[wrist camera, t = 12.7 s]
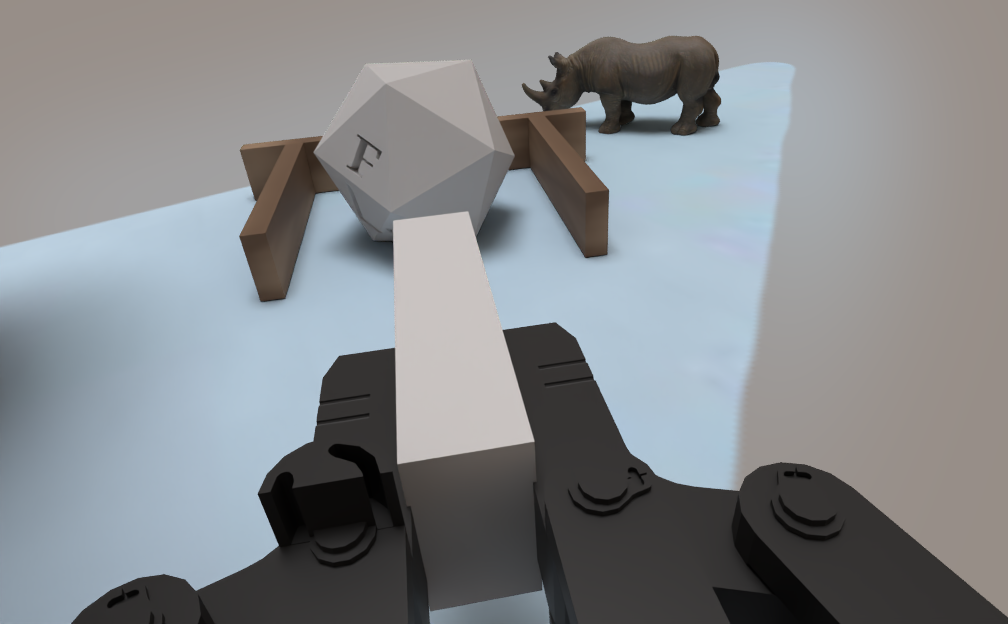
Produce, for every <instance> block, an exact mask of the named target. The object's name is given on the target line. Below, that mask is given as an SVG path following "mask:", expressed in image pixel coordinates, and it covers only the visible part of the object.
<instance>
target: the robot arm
mask: <svg viewBox="0 0 1008 624" xmlns="http://www.w3.org/2000/svg"><path fill="white" fill-rule="evenodd" d="M393 246H394V305H395V348H391V349H384V350H377V351H370V352H363V353H356V354H349V355H342V356H339V357H338V358H337V359H336V361H335V362H334V363H333V365H332V366H331V368H330V369H329V370H328V372H327V373H326V374H325V376H324V377H323V380H322V387H321V394H320V401H319V402H320V406H319V407H318V414H317V426H316V428H315V435H314V442H310V443H307V444H305V445H303V446H302V447H300V448H298V449H296V450H295V451H293V452H291V453H290V454H288V455H286V456H284V457H283V458H282V459H281V460H280V461H279V462H278V463H277V464H276V465H275V467H274V468H273V469H272V470H271V471H270V472H269V473H268V474H267V475H266V477H265V479H264V482H263V484H262V486H261V488H260V490H259V492H258V496H259V499H260V501H261V503H262V506H263V508H264V511H265V513H266V515H267V518H268V520H269V523H270V525H271V527H272V530H273V532H274V535H275V537H276V539H277V542H278V544H279V546H278V547H277V548H275V549H274V550H273V551H272V552H270V553H269V554H268V555H267V556H265V557H264V558H263V559H261V560H259V561H258V562H256V563H254V564H252V565H250V566H249V567H247V568H245V569H243V570H241V571H239V572H236V573H234V574H232V575H230V576H228V577H225V578H223V579H221V580H219V581H217V582H215V583H212V584H210V585H208V586H206V587H204V588H201V589H199V590H197V591H195V590H194V589H193V588H192V587H191V586H190V584H189V583H188V582H187V581H186V580H185V579H181V578H177V577H173V576H169V575H165V574H163V575H156V576H149V577H142V578H137V579H135V580H133V581H131V582H128V583H126V584H124V585H121V586H119V587H117V588H114V589H112V590H110V591H109V592H107V593H106V594H105V595H103V596H102V597H100V598H99V599H98V600H96V601H95V602H94V603H92V604H91V605H89V606H88V607H87V608H85V609H84V610H83V611H82V612H81V613H80V614H79V615H78V616H77V618H76V619H75V620H74V621H73V622H72V623H71V624H430V619H429V608H430V611H435V610H440V609H445V608H450V607H456V606H461V605H466V604H471V603H477V602H482V601H487V600H492V599H498V598H503V597H508V596H513V595H519V594H524V593H529V592H535V591H540V590H542V581H543V585H544V589H545V594H546V598H547V602H548V606H549V618H550V624H1008V617H1007V616H1005V615H1004V614H1003V613H1002V612H1001V611H999V610H998V609H997V608H996V607H995V606H993V605H992V604H991V603H990V602H989V601H987V600H986V599H985V598H984V597H983V596H981V595H980V594H979V593H977V591H975V590H974V589H973V588H972V587H971V586H969V585H968V584H967V583H966V582H965V581H964V580H962V579H961V578H960V577H959V576H958V575H956V574H955V573H954V572H953V571H952V570H950V569H949V568H948V567H947V566H945V565H944V564H943V563H942V562H941V561H940V560H938V559H937V558H936V557H935V556H934V555H932V554H931V553H930V552H929V551H928V550H926V549H925V548H924V547H923V546H922V545H920V544H919V543H918V542H917V541H916V540H915V539H913V538H912V537H911V536H910V535H908V534H907V533H906V532H905V531H904V530H903V529H901V528H900V527H899V526H898V525H896V524H895V523H894V522H893V521H892V520H890V519H889V518H888V517H887V516H886V515H885V514H883V513H882V512H881V511H880V510H878V509H877V508H876V507H875V506H874V505H873V504H871V503H870V502H869V501H868V500H867V499H866V498H864V497H863V496H862V495H861V494H860V493H858V492H857V491H856V490H855V489H854V488H852V487H851V486H849V485H848V484H846V483H845V482H843V481H841V480H840V479H838V478H837V477H835V476H834V475H832V474H830V473H828V472H825V471H822V470H819V469H816V468H813V467H811V466H808V465H804V464H793V463H782V462H780V463H776V464H771V465H766V466H761V467H759V468H758V469H756V470H755V471H753V472H752V473H751V474H749V475H748V476H746V477H745V479H744V481H743V484H742V486H741V488H740V491H733V490H722V489H712V488H702V487H693V486H688V485H682V484H677V483H674V482H671V481H669V480H666V479H663V478H661V477H658V476H657V475H655V474H654V472H653V471H652V470H651V469H650V467H649V466H648V465H647V464H646V463H644V462H643V461H641V460H640V459H638V458H636V457H635V456H633V455H632V454H631V453H630V452H629V450H628V449H627V447H626V445H625V443H624V441H623V439H622V437H621V435H620V433H619V430H618V428H617V426H616V424H615V422H614V420H613V417H612V415H611V413H610V411H609V409H608V407H607V404H606V402H605V400H604V398H603V396H602V394H601V392H600V389H599V387H598V385H597V383H596V381H594V378H593V374H592V372H591V370H590V368H589V366H588V363H586V361H585V357H584V355H583V353H582V351H581V348H580V346H579V344H578V342H577V340H576V338H575V337H574V336H572V335H571V334H570V333H568V332H567V331H566V330H565V329H563V328H562V327H561V326H559V325H558V324H557V323H548V324H541V325H534V326H527V327H520V328H514V329H507V330H502V327H501V323H500V320H499V316H498V313H497V309H496V306H495V303H494V299H493V296H492V292H491V289H490V285H489V282H488V278H487V275H486V271H485V268H484V264H483V261H482V257H481V254H480V250H479V247H478V244H477V240H476V237H475V233H474V230H473V226H472V223H471V219H470V216H469V212H468V211H466V212H458V213H450V214H442V215H434V216H426V217H418V218H410V219H402V220H394V221H393Z"/></svg>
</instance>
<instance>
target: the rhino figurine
mask: <svg viewBox="0 0 1008 624" xmlns="http://www.w3.org/2000/svg"><path fill="white" fill-rule="evenodd" d="M548 58H549V59H550V62H551V64H552V65H553V66H554V67H555V68H557V73H556V78H555V80H554V81H553V82H547V81H544V80H540V84H541V85H542V87H543V90H544V91H543V92H539V91H534V90H532V89H530V88H528V87H527V86H526V84H524V83H523V84H522V87H523V90H524V92H525V93H526V94H527V95H528V96H529V97H530V98H531V99H532V100H534V101H535V102H536V103H538V104H540V106H542V108H543V111H552V110H561V109H569V108H571V107H572V106H573V105H575V104H576V103H577V102H578V100H579V98H580V97H581V95H582V93H583V92H588V93H589V92H596V93H598V94H599V95H600V100H601V103H602V105H603V107H604V109H605V113H606V119H605V121H604V123H603V124H602V125H601V126H600V128H599V133H604V134H611V133H616V132H618V131H619V130H620V128H621V126H620V125H624V124H627V123H629V122H631V121H632V120H633V119H634V118H635V115H634V113H633V112H632V111H631V106H632V102H635V103H639V104H646V105H647V104H656V103H659V102H661V101H664V100H666V99H668V98H670V97H672V96H674V95H675V94H678V96H679V98H680V100H681V101H682V102H683V109H682V113H681V116H680V119H679V120H678V122H677V123H676V124H674V125H673V126H672V128H671V132H672V134H680V135H687V134H690V133H694V132H695V131H696V130H697V125H696V124H698V125H699V126H702V127H706V126H714V125H717V124H719V122H720V119H719V118H718V116H717V109H718V107H719V105H720V104H721V98H720V97H719V95H718V94H717V93H716V92H715V90H714V88H713V87H714V86H715V84H716V83H717V82H718V80H719V77H720V76H719V73H718V66H719V58H718V54H717V52H716V50H715V48H714V47H713V46H712V45H711V44H710V43H709V42H708V41H706V40H705V39H704V38H702V37H700V36H691V37H681V36H668V37H664V38H661V39H658V40H656V41H652V42H648V43H642V44H636V43H630V42H627V41H625V40H623V39H619V38H615V37H603V38H600V39H597V40H595V41H592V42H590V43H589V44H587V45H586V46H584V47H582V48H581V49H579V50H578V51H577V52H575V53H573V54H571V55H569V57H568V58H565V57H563V56H562V55H561V54H559V53H558V52H556V53H555V55H554V57H552V56H548ZM703 108H704V112H703V113H702V111H703ZM701 113H702V114H701ZM700 114H701V115H700ZM699 115H700V116H699ZM697 117H698V118H697ZM696 118H697V119H696ZM695 120H696V123H695Z"/></svg>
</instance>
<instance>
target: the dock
mask: <svg viewBox="0 0 1008 624" xmlns="http://www.w3.org/2000/svg"><path fill="white" fill-rule="evenodd" d="M497 118H498V120H499V122H500V124H501V126H502V129H503V131H504V133H505V135H506V138H507V140H508V142H509V144H510V146H511V149H512V151H513V153H514V155H515V157H514V159H513V161H512V163H511V165H510V167H509V169H508V170H511V169H519V168H527V167H530V168H531V169H532V171H533V172H534V174H535V176H536V177H537V179H538V181H539V182H540V184H541V186H542V187H543V189H544V190H545V192H546V194H547V195H548V197H549V199H550V200H551V202H552V203H553V205H554V207H555V208H556V210H557V212H558V213H559V215H560V217H561V218H562V220H563V221H564V223H565V225H566V226H567V228H568V230H569V231H570V233H571V235H572V236H573V238H574V239H575V241H576V243H577V244H578V246H579V248H580V249H581V251H582V253H583V254H584V256H585V257H591V256H598V255H605V254H607V245H608V207H609V189H608V188H607V187H606V186H605V185H604V184H603V183H602V181H601V180H600V179H599V178H598V177H597V176H596V174H595V173H594V172H593V171H592V170H591V169H590V168H589V166H588V165H587V164H586V163H585V162H584V161H586V111H585V110H584V109H583V108H582V107H579V108H570V109H561V110H552V111H543V112H534V113H525V114H516V115H507V116H498V117H497ZM322 137H323V136H318V137H309V138H300V139H291V140H282V141H273V142H264V143H255V144H246V145H243V146H242V147H241V149H240V152H241V155H242V159H243V162H244V165H245V169H246V171H247V175H248V178H249V182H250V185H251V188H252V192H253V195H254V198H255V200H257V202H256V204H255V206H254V208H253V210H252V212H251V214H250V216H249V218H248V220H247V222H246V224H245V226H244V228H243V230H242V232H241V234H240V236H239V237H240V240H241V243H242V246H243V249H244V252H245V255H246V258H247V261H248V264H249V267H250V270H251V273H252V276H253V279H254V282H255V285H256V288H257V291H258V295H259V298H260V301H267V300H275V299H282V298H285V297H286V293H287V290H288V286H289V283H290V279H291V276H292V273H293V269H294V266H295V262H296V259H297V255H298V252H299V248H300V245H301V241H302V238H303V235H304V231H305V228H306V224H307V221H308V217H309V214H310V210H311V207H312V203H313V200H314V196H315V193H319V192H327V191H335V190H339V189H338V188H337V186H336V185H335V183H334V182H333V181H332V179H331V178H330V176H329V175H328V173H327V172H326V170H325V169H324V167H323V166H322V164H321V163H320V161H319V160H318V158H317V157H316V155H315V154H314V151H315V149H316V147H317V146H318V144H319V142H320V140H321V139H322Z"/></svg>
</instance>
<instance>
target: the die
mask: <svg viewBox="0 0 1008 624" xmlns="http://www.w3.org/2000/svg"><path fill="white" fill-rule="evenodd" d="M314 154H315V155H316V157H317V158H318V160H319V161H320V163H321V164H322V166H323V167H324V169H325V170H326V172H327V173H328V175H329V176H330V178H331V179H332V181H333V182H334V183H335V185H336V186H337V188H338V189H339V191H340V192H341V194H342V195H343V197H344V198H345V200H346V201H347V203H348V204H349V206H350V207H351V209H352V210H353V212H354V213H355V214H356V216H357V217H358V219H359V220H360V222H361V223H362V225H363V226H364V228H365V229H366V231H367V232H368V234H369V235H370V237H371V238H372V240H373V241H393V221H394V220H402V219H410V218H418V217H426V216H434V215H442V214H450V213H458V212H466V211H468V212H469V216H470V219H471V223H472V226H473V230H474V233H475V237H476V236H477V234H478V232H479V230H480V228H481V226H482V223H483V221H484V219H485V217H486V215H487V213H488V211H489V209H490V207H491V205H492V203H493V201H494V198H495V196H496V194H497V192H498V190H499V188H500V186H501V184H502V182H503V180H504V178H505V175H506V173H507V171H508V169H509V167H510V165H511V163H512V161H513V159H514V157H515V155H514V153H513V151H512V149H511V146H510V144H509V142H508V140H507V138H506V135H505V133H504V131H503V129H502V126H501V124H500V122H499V120H498V118H497V116H496V113H495V111H494V109H493V107H492V104H491V102H490V100H489V98H488V96H487V93H486V91H485V89H484V87H483V84H482V82H481V80H480V78H479V76H478V73H477V71H476V69H475V67H474V64H473V62H472V60H452V61H428V62H403V63H378V64H365V65H364V67H363V69H362V71H361V72H360V74H359V76H358V78H357V79H356V81H355V82H354V84H353V86H352V88H351V90H350V91H349V93H348V95H347V96H346V98H345V100H344V101H343V103H342V105H341V106H340V108H339V110H338V112H337V113H336V115H335V117H334V118H333V120H332V122H331V123H330V125H329V127H328V128H327V130H326V132H325V134H324V135H323V137H322V139H321V140H320V142H319V144H318V146H317V147H316V149H315V151H314Z"/></svg>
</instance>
